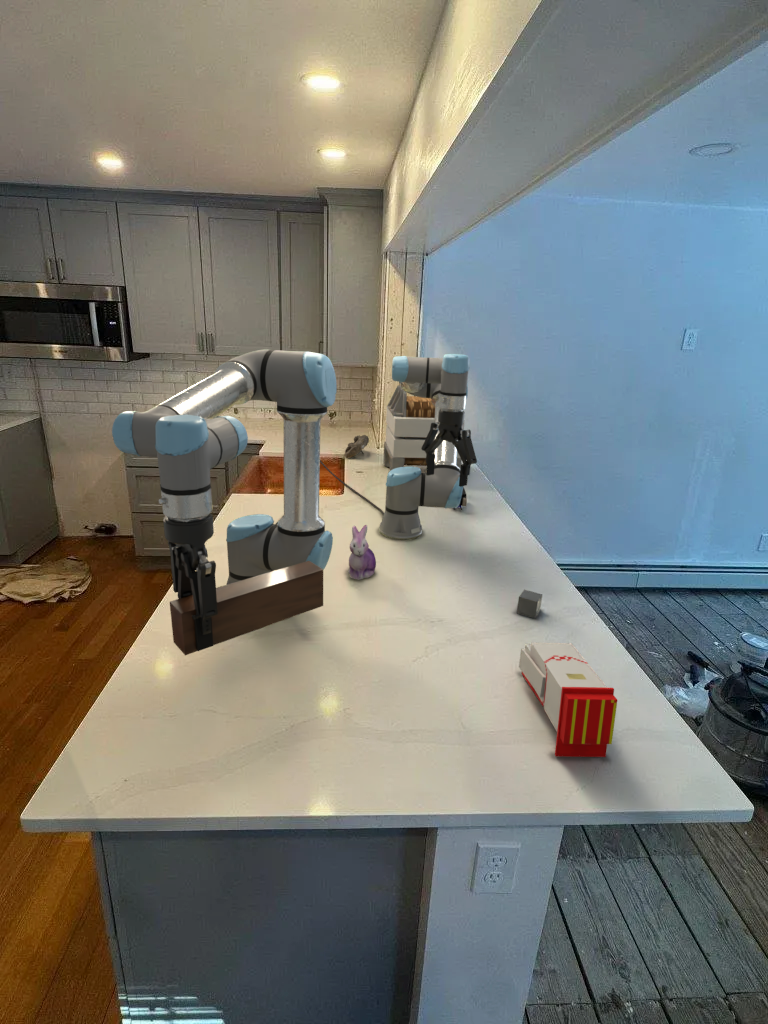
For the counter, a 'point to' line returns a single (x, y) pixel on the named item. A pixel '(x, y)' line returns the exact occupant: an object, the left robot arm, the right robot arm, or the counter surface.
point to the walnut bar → (252, 604)
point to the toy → (570, 698)
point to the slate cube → (529, 603)
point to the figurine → (361, 555)
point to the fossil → (356, 446)
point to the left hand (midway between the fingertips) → (197, 639)
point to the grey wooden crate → (408, 430)
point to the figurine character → (462, 500)
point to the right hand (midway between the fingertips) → (446, 480)
